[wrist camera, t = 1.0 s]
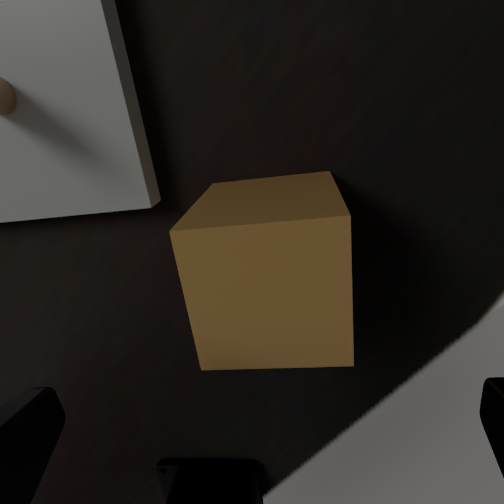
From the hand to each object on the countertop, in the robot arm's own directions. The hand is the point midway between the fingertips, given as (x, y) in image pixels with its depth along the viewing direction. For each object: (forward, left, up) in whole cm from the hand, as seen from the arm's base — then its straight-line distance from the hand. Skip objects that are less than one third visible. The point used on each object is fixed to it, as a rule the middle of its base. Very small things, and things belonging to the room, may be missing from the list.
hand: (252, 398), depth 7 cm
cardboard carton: (0, 0, -10) cm, 10 cm away
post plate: (+7, +10, -10) cm, 16 cm away
